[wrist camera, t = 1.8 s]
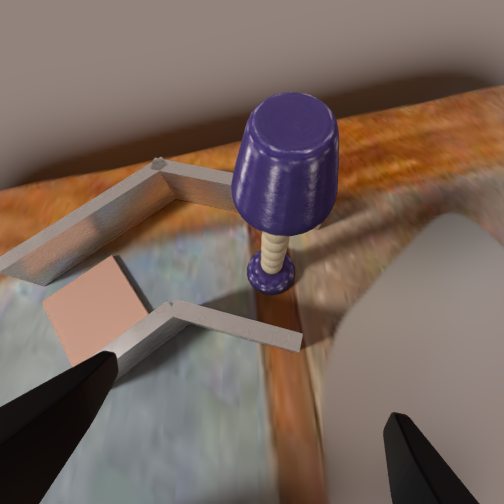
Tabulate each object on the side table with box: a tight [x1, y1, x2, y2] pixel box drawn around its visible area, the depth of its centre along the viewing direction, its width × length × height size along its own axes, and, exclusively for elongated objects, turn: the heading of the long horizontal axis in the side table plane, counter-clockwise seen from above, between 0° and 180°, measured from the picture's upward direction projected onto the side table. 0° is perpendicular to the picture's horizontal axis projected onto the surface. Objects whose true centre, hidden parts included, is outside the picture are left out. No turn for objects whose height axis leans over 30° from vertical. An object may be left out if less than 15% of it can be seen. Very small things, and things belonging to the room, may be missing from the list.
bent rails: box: [0, 157, 321, 382], centre depth 23 cm, size 18×27×4 cm, turn 102°
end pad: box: [42, 255, 149, 367], centre depth 24 cm, size 7×7×1 cm
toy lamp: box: [231, 92, 339, 295], centre depth 16 cm, size 5×5×17 cm
